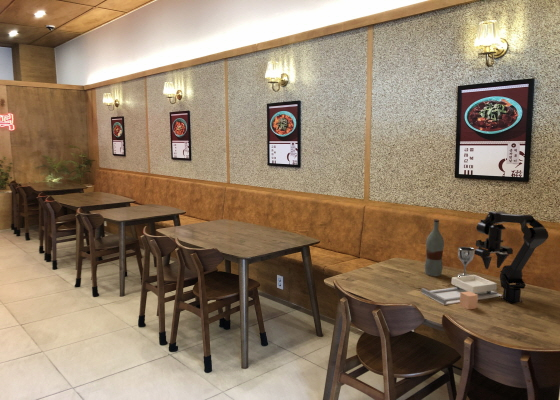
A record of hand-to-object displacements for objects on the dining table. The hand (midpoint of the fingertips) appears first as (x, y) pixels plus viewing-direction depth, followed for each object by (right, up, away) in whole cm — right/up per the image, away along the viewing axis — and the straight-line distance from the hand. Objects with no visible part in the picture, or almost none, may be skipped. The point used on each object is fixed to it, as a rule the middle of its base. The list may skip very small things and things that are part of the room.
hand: (492, 268), depth 213 cm
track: (-17, -12, -4) cm, 21 cm away
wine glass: (-4, -8, +23) cm, 25 cm away
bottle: (-20, -7, +26) cm, 33 cm away
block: (-20, -14, -19) cm, 31 cm away
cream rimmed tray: (-10, -10, -2) cm, 15 cm away
